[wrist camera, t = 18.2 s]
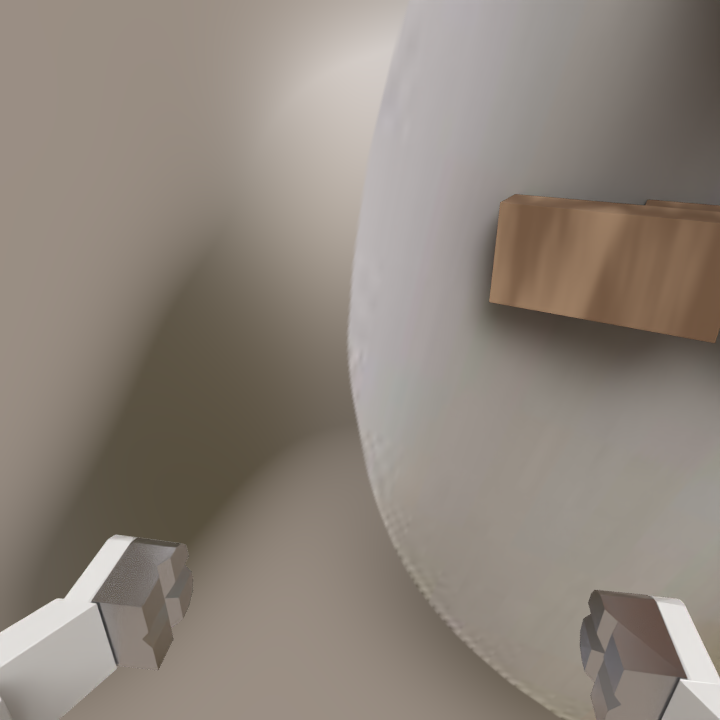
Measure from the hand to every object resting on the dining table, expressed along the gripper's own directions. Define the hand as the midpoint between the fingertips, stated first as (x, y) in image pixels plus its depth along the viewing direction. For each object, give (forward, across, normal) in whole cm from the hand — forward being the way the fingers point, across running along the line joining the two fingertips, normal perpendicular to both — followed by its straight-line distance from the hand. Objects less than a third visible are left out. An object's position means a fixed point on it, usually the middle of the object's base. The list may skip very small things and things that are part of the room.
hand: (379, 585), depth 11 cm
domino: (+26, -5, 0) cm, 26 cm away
